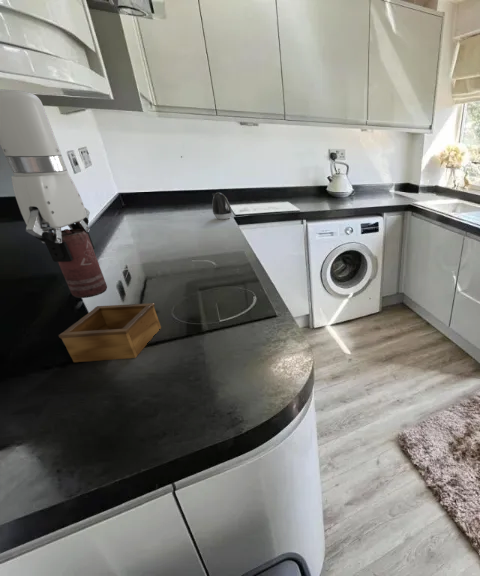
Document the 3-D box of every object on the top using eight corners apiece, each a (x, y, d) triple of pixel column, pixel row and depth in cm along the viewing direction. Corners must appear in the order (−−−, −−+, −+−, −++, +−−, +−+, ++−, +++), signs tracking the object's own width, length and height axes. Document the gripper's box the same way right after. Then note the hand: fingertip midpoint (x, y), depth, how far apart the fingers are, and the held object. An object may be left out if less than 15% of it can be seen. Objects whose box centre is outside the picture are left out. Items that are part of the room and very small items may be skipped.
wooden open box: (72, 362, 74) (58, 335, 71) (107, 331, 86) (97, 306, 82) (136, 358, 76) (125, 331, 72) (162, 327, 87) (154, 303, 84)
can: (102, 284, 77) (80, 226, 71) (112, 291, 73) (90, 231, 67) (68, 293, 72) (42, 231, 66) (77, 301, 69) (51, 237, 63)
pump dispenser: (224, 215, 200) (218, 190, 193) (236, 217, 196) (232, 191, 189) (210, 219, 191) (204, 193, 184) (223, 221, 187) (217, 194, 181)
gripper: (51, 161, 68) (83, 243, 76) (-30, 170, 53) (20, 271, 61) (90, 162, 69) (118, 242, 77) (23, 171, 54) (66, 270, 62)
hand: (75, 254), depth 69 cm, fingers closed on can, 6 cm apart
